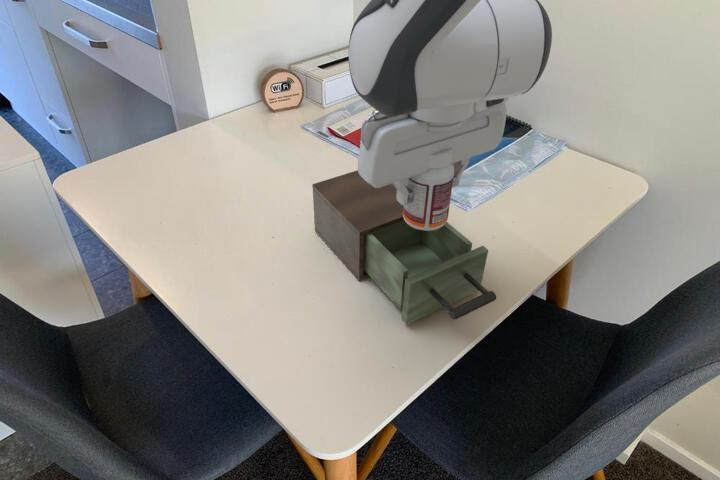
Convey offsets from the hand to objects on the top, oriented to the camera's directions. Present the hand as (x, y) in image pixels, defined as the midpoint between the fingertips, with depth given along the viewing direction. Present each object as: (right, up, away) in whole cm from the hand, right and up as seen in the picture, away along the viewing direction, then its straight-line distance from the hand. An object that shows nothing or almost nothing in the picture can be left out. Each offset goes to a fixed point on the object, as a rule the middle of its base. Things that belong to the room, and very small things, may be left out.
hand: (428, 193), depth 69 cm
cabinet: (-7, -6, +19) cm, 21 cm away
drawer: (+1, -14, +8) cm, 16 cm away
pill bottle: (0, -3, +3) cm, 4 cm away
